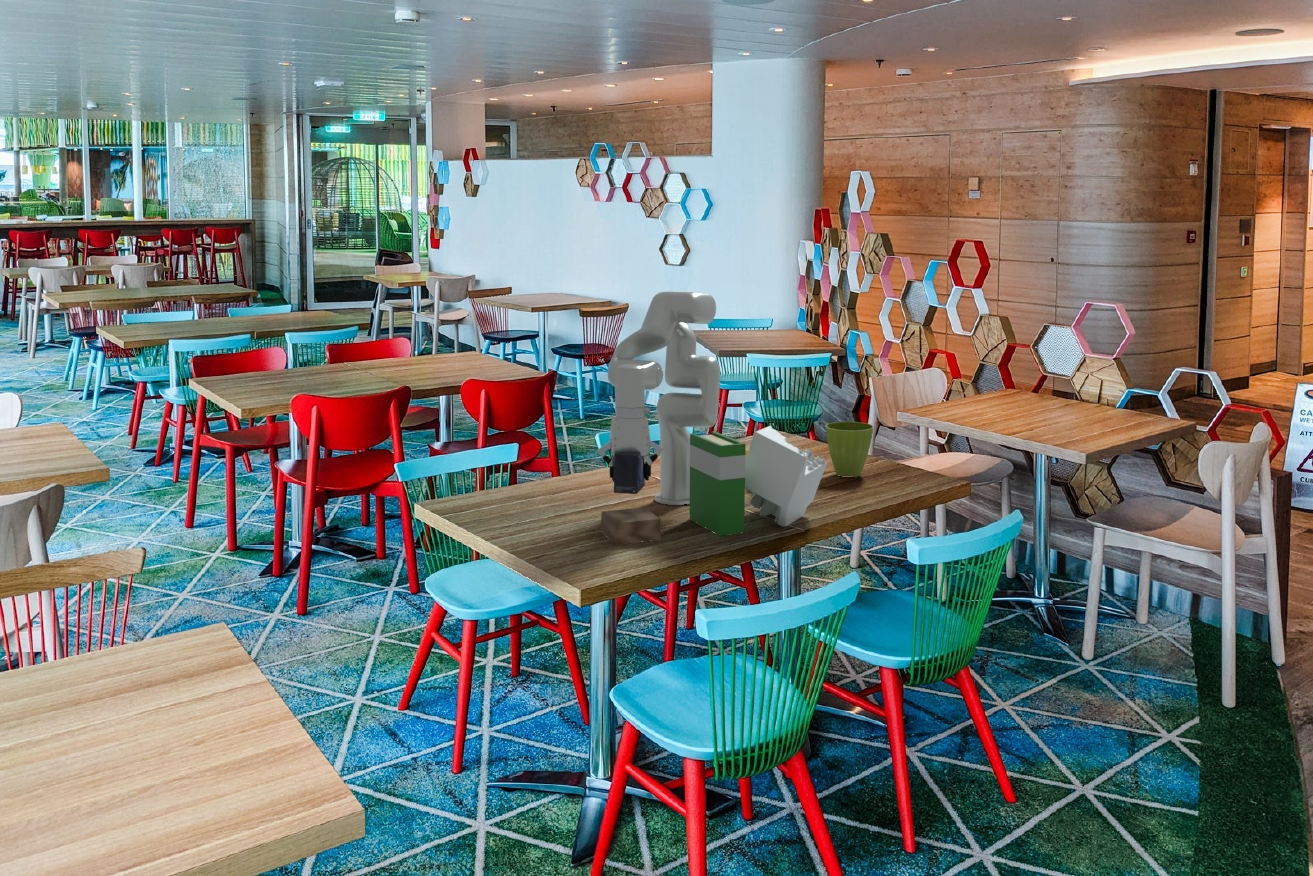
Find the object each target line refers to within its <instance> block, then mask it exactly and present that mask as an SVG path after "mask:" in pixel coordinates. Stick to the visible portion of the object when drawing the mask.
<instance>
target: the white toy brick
mask: <svg viewBox="0 0 1313 876" xmlns="http://www.w3.org/2000/svg"><path fill="white" fill-rule="evenodd" d="M747 450H748V453H747V456H746V459H745V490H747V491H749V492H751V493H752V496H753V498H752V499H751V500H750V501H749V504H750V505H751V506H752V507H753V508H756V509H758V510H759V514H758V515H759V516H760V517H761V518H763V519H765V518H766V517H767V516H768V515H769V516H770V515H772V516H773V517H775V519H774V524H777V525H778V526H780V527H784V528H786V527H788V526H790V525H791V524H793V523H794V522H796V521H797V520H798V519H801V518H803V517H804V516H805V513H806V510H807V508H808V506H810V504H812V502H813V501H814V498H815V496H816V493H817V490H818V488H819V485H820V482H821V480H822V478H823V475H824V472H825V469H826V467H827V464H828V463H827V462H826V459H825V457H822V458H821V457H820V456H819V455H817V456H815V455H813V452H812V449H811V448H810V449H808V450H807V449H806V448H805V449H804V450H805V451H804V450H803V449H802V448H798V447H796V446H794V445H793V444H791V442H787V437H786V436H784V435H782V434H781V433H780V432H778V430H776V429H774V428H773V427H772V425H768V426H767V427H766V426H765V427H763V428H762V429H759V430H757V431H755V432H754V434H753V437H752V440H751V443H750V445H749V448H748V449H747ZM764 517H765V518H764ZM792 522H793V523H792Z"/></svg>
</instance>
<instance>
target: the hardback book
mask: <svg viewBox="0 0 1313 876" xmlns="http://www.w3.org/2000/svg"><path fill="white" fill-rule="evenodd" d="M746 447H747V444H746V443H744V442H742V441H739V440H737V439H735V438H732V437H729V436H727V435H725V434H722V433H720V432H717V431H714V430H713V431H711V434H704V435H698V434H695V433H690V504H689V520H690V519H691V520H693V521H694V522H693V521H692V522H693V523H695V522H697V523H698V524H697V523H696V524H697V525H699V524H700V525H701V527H702V526H703V527H702V528H704V527H706V528H707V529H709V530H710V531H709V530H708V531H709V532H711V531H713V532H715V533H716V534H717V536H718V535H719V536H718V537H723V536H722V535H725V536H730V535H729V534H732V535H736V534H735V533H740V534H742V533H741V532H744V533H745V514H746V513H745V509H746V507H745V506H746V505H745V503H746V502H745V501H746V494H745V493H746V492H745V491H746V489H745V451H746V450H747V449H746ZM691 520H690V521H691ZM700 525H699V526H700ZM706 528H705V529H706ZM707 529H706V530H707ZM713 532H712V533H713ZM716 534H715V535H716Z"/></svg>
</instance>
